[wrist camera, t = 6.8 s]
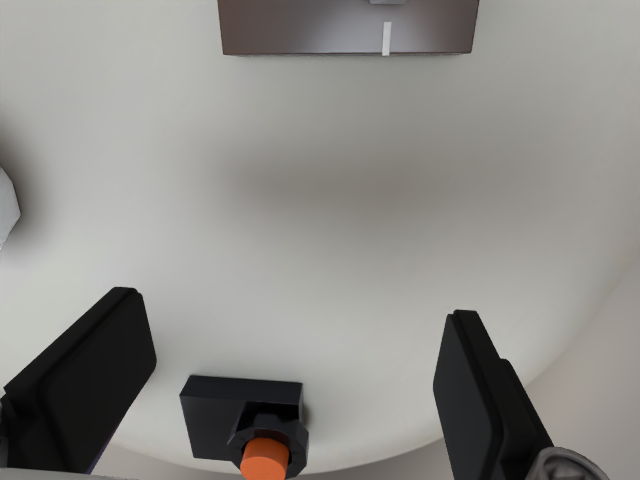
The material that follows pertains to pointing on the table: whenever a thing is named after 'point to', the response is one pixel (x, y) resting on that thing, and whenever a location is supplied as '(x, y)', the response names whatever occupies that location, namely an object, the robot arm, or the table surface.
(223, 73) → the table surface
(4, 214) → the vase
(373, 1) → the grey rectangular block
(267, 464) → the button
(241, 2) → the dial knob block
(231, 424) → the button box
